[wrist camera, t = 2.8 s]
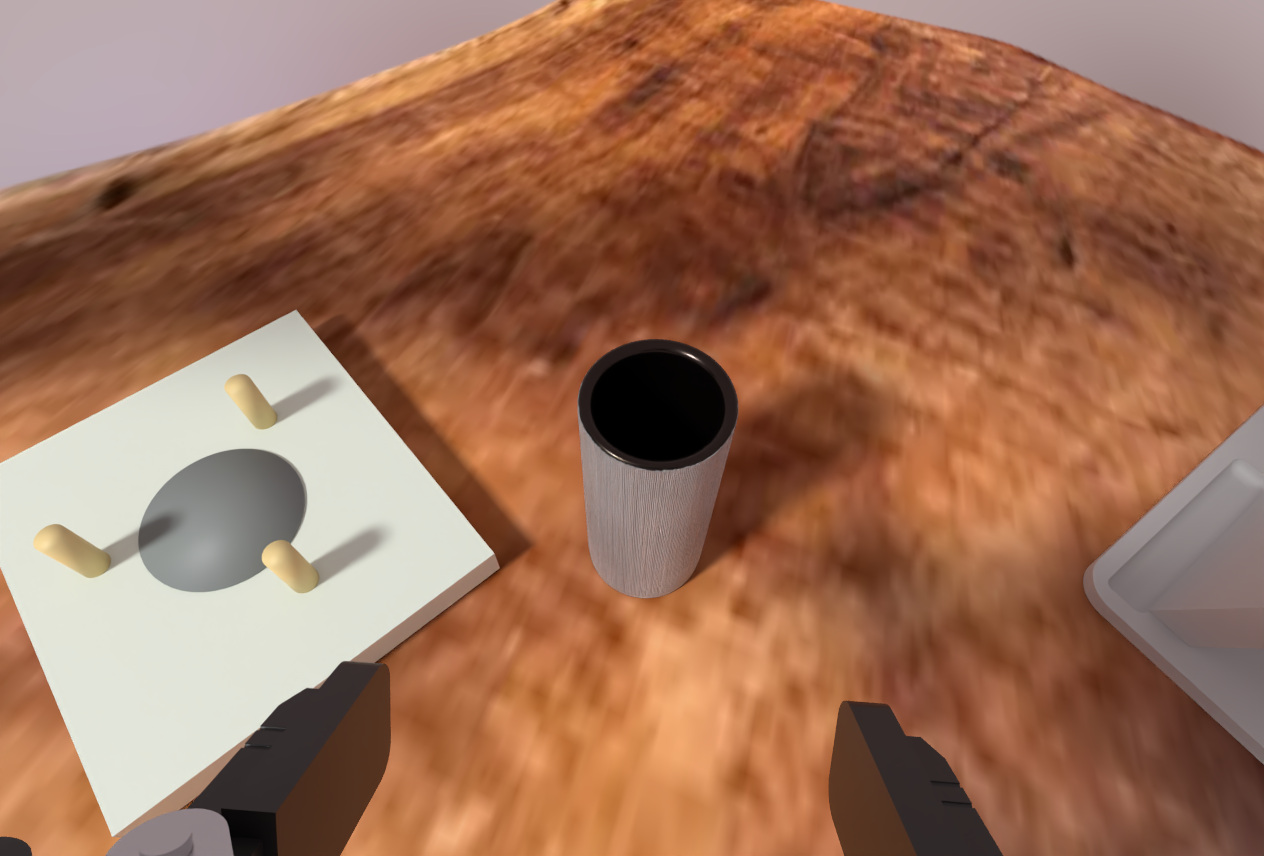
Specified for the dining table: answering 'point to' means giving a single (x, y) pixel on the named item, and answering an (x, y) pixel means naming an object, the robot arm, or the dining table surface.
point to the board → (220, 559)
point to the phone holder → (1199, 584)
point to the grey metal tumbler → (652, 461)
